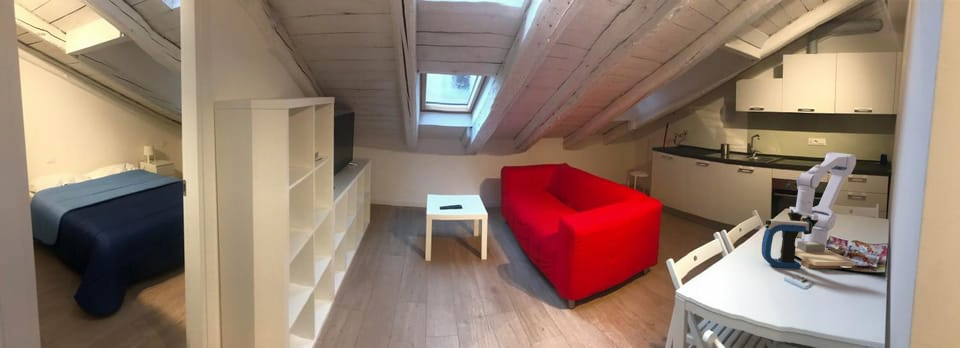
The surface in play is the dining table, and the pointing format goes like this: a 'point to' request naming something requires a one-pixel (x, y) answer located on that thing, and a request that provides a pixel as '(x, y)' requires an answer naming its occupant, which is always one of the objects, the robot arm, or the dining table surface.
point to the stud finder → (810, 246)
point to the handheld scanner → (783, 241)
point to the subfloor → (822, 259)
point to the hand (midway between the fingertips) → (800, 231)
